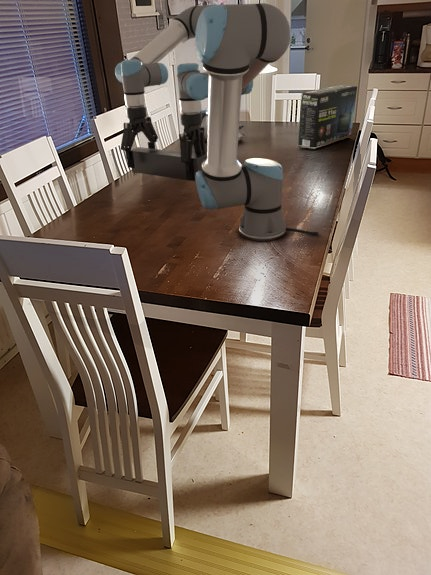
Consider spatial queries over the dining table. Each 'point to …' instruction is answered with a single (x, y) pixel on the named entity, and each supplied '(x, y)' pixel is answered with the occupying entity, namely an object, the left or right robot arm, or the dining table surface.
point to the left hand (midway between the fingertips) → (142, 163)
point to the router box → (326, 115)
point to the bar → (164, 163)
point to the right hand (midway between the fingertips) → (194, 177)
